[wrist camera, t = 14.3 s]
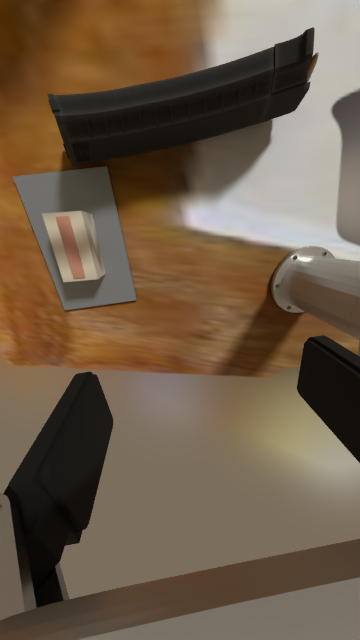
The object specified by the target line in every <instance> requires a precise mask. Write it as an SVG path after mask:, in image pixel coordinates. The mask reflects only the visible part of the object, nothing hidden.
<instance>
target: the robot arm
mask: <svg viewBox="0 0 360 640" xmlns="http://www.w3.org/2000/svg"><path fill="white" fill-rule="evenodd" d="M271 293H272V297H273V299H274V301H275V303H276V304H277V305H278V306H279V307H280V308H282V309H284V310H285V311H288V312H292V313H301V312H307V313H309V314H311V315H313V316H315V317H317V318H318V319H320V320H322V321H324V322H326V323H328V324H330V325H332V326H334V327H336V328H338V329H339V330H341V331H343V332H345V333H347V334H349V335H351V336H353V337H355V338H357V339H359V340H360V262H359V261H351V260H343V259H335V257H334V256H333V254H332V253H331V252H330V251H328V250H327V249H324V248H322V247H315V246H309V247H303V248H300V249H298V250H296V251H294V252H292V253H291V254H289V255H288V256H287V257H286V258H285V259H284V260H283V261H282V262H281V263H280V264H279V266H278V267H277V269H276V271H275V273H274V275H273V278H272V283H271ZM297 390H298V393H299V394H300V396H301V397H302V398H303V399H304V400H305V401H306V402H307V404H308V405H309V406H310V407H311V408H312V409H313V410H314V411H315V413H316V414H317V415H318V416H319V417H320V418H321V419H322V421H323V422H324V423H325V424H326V425H327V426H328V427H329V429H330V430H331V431H332V432H333V433H334V434H335V435H336V436H337V438H338V439H339V440H340V441H341V442H342V443H343V444H344V446H345V447H346V448H347V449H348V450H349V451H350V452H351V453H352V455H353V456H354V457H355V458H356V459H357V460H358V461H359V462H360V357H359V356H358V355H356V354H354V353H353V352H351V351H349V350H348V349H346V348H344V347H343V346H341V345H340V344H338V343H336V342H335V341H333V340H331V339H330V338H328V337H326V336H316V337H310V338H308V340H307V341H306V342H305V343H304V348H303V354H302V360H301V366H300V372H299V378H298V385H297ZM112 428H113V417H112V414H111V412H110V409H109V406H108V404H107V401H106V398H105V396H104V393H103V390H102V388H101V385H100V382H99V380H98V377H97V375H93V374H92V372H85V373H79V374H76V375H75V376H74V378H73V379H72V381H71V382H70V384H69V386H68V387H67V389H66V391H65V392H64V394H63V396H62V397H61V399H60V400H59V402H58V404H57V405H56V407H55V409H54V410H53V412H52V414H51V415H50V417H49V419H48V420H47V422H46V423H45V425H44V427H43V428H42V430H41V432H40V433H39V435H38V437H37V438H36V440H35V441H34V443H33V445H32V446H31V448H30V450H29V451H28V453H27V455H26V456H25V458H24V459H23V461H22V463H21V465H20V466H19V468H18V469H17V471H16V473H15V474H14V476H13V478H12V479H11V481H10V483H9V485H8V487H7V488H6V490H5V492H4V493H3V494H2V493H0V640H360V539H357V540H352V541H346V542H341V543H336V544H331V545H326V546H321V547H317V548H311V549H307V550H301V551H297V552H292V553H287V554H282V555H277V556H272V557H268V558H262V559H257V560H252V561H247V562H242V563H237V564H232V565H227V566H223V567H217V568H213V569H208V570H203V571H198V572H193V573H189V574H184V575H179V576H175V577H170V578H165V579H160V580H155V581H150V582H145V583H140V584H135V585H131V586H126V587H122V588H117V589H112V590H108V591H104V592H100V593H96V594H91V595H87V596H82V597H78V598H74V599H69V596H68V592H67V589H66V585H65V581H64V577H63V574H62V570H61V567H60V563H59V562H60V559H61V556H62V553H63V550H64V546H65V545H71V544H76V543H79V541H80V538H81V534H82V530H84V529H86V528H87V525H88V524H89V520H90V516H91V513H92V508H93V504H94V500H95V496H96V492H97V488H98V484H99V480H100V476H101V472H102V468H103V464H104V460H105V456H106V452H107V448H108V444H109V440H110V436H111V432H112Z"/></svg>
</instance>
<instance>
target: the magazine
mask: <svg viewBox="0 0 360 640" xmlns="http://www.w3.org/2000/svg"><path fill="white" fill-rule="evenodd" d="M313 46H314V27H313V28H310V29H308V30H306V31H305V32H304V33H303V34H302V35H300V36H298V37H296V38H294V39H291V40H289V41H285V42H282V43H278V44H275V46H274V47H272V48H269V49H266V50H264V51H261V52H258V53H255V54H252V55H249V56H247V57H244V58H240V59H238V60H235V61H232V62H229V63H226V64H222V65H219V66H216V67H212V68H209V69H205V70H201V71H198V72H195V73H191V74H187V75H183V76H179V77H175V78H171V79H166V80H162V81H156V82H151V83H146V84H141V85H136V86H131V87H126V88H121V89H115V90H110V91H103V92H95V93H86V94H74V95H53V94H48V97H49V103H50V106H51V109H52V111H53V113H54V115H55V118H56V121H57V124H58V127H59V130H60V133H61V136H62V139H63V142H64V144H63V145H64V148H65V150H66V153H67V156H68V159H70V161H71V164H72V166H76V164H82V163H87V162H93V161H99V160H105V159H111V158H117V157H123V156H129V155H134V154H139V153H145V152H150V151H155V150H159V149H164V148H168V147H173V146H177V145H182V144H186V143H190V142H194V141H198V140H202V139H205V138H209V137H213V136H216V135H220V134H223V133H227V132H230V131H233V130H237V129H240V128H244V127H247V126H250V125H254V124H257V123H260V122H264V121H267V120H270V119H273V118H276V117H279V116H282V115H285V114H288V113H291V112H293V111H295V110H296V108H297V107H298V105H299V104H300V102H301V101H302V99H303V98H304V96H305V94H306V93H307V91H308V90H309V86H310V82H308V81H309V79H310V77H311V74H312V72H313V69H314V67H315V65H316V62H317V59H318V55H319V53H318V52H317V53H316V54H315V55H314V56H313V57H312V55H313ZM307 82H308V83H307Z"/></svg>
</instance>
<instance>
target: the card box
mask: <svg viewBox="0 0 360 640" xmlns="http://www.w3.org/2000/svg"><path fill="white" fill-rule="evenodd" d="M42 216H43V219H44V222H45V225H46V229H47V232H48V235H49V238H50V241H51V244H52V247H53V251H54V254H55V257H56V260H57V263H58V266H59V269H60V273H61V276H62V279H63V282H73V281H84V280H95V279H99V278H100V277H102V276H103V275H105V269H104V265H103V260H102V256H101V251H100V247H99V242H98V238H97V233H96V229H95V225H94V220H93V216H92V214H90V213H86V212H83V211H71V212H56V213H42Z"/></svg>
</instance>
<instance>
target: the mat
mask: <svg viewBox="0 0 360 640" xmlns="http://www.w3.org/2000/svg"><path fill="white" fill-rule="evenodd" d="M13 179H14V181H15V184H16V187H17V189H18V192H19V194H20V197H21V199H22V202H23V205H24V207H25V210H26V212H27V215H28V217H29V220H30V222H31V225H32V228H33V230H34V233H35V235H36V238H37V240H38V243H39V246H40V248H41V251H42V253H43V256H44V258H45V261H46V264H47V266H48V269H49V271H50V274H51V276H52V279H53V281H54V284H55V287H56V289H57V292H58V294H59V297H60V299H61V302H62V305H63V307H64V310H71V309H78V308H85V307H92V306H99V305H106V304H113V303H120V302H127V301H134V300H137V298H136V293H135V289H134V284H133V279H132V275H131V270H130V266H129V261H128V257H127V252H126V248H125V243H124V239H123V234H122V229H121V225H120V220H119V216H118V211H117V207H116V202H115V198H114V193H113V189H112V184H111V179H110V175H109V170H108V167H107V166H103V167H94V168H85V169H77V170H68V171H59V172H50V173H42V174H33V175H24V176H15V177H13ZM71 211H83V212H86V213H90V214H92V216H93V220H94V225H95V229H96V233H97V238H98V242H99V247H100V251H101V256H102V260H103V265H104V269H105V275H103V276H102V277H100V278H99V279H95V280H84V281H73V282H63V279H62V276H61V273H60V269H59V266H58V263H57V260H56V257H55V254H54V251H53V247H52V244H51V241H50V238H49V235H48V232H47V229H46V225H45V222H44V219H43V216H42V213H56V212H71Z"/></svg>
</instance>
